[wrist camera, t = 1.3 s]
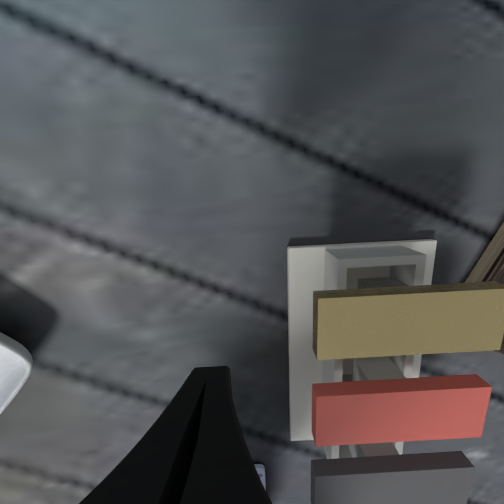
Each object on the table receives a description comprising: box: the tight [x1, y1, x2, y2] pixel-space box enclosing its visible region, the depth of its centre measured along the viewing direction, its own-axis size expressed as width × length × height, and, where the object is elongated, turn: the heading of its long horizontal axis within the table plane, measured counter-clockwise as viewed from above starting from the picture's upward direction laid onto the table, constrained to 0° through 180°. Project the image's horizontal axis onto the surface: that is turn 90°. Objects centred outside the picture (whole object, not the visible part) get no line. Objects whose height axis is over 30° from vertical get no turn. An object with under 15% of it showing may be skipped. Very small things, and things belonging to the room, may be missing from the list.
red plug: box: [312, 356, 492, 447], centre depth 17 cm, size 4×10×4 cm, turn 93°
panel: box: [287, 239, 437, 459], centre depth 20 cm, size 18×11×3 cm, turn 3°
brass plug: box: [312, 277, 504, 360], centre depth 15 cm, size 4×10×4 cm, turn 93°
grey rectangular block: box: [311, 442, 474, 504], centre depth 18 cm, size 4×10×4 cm, turn 93°
